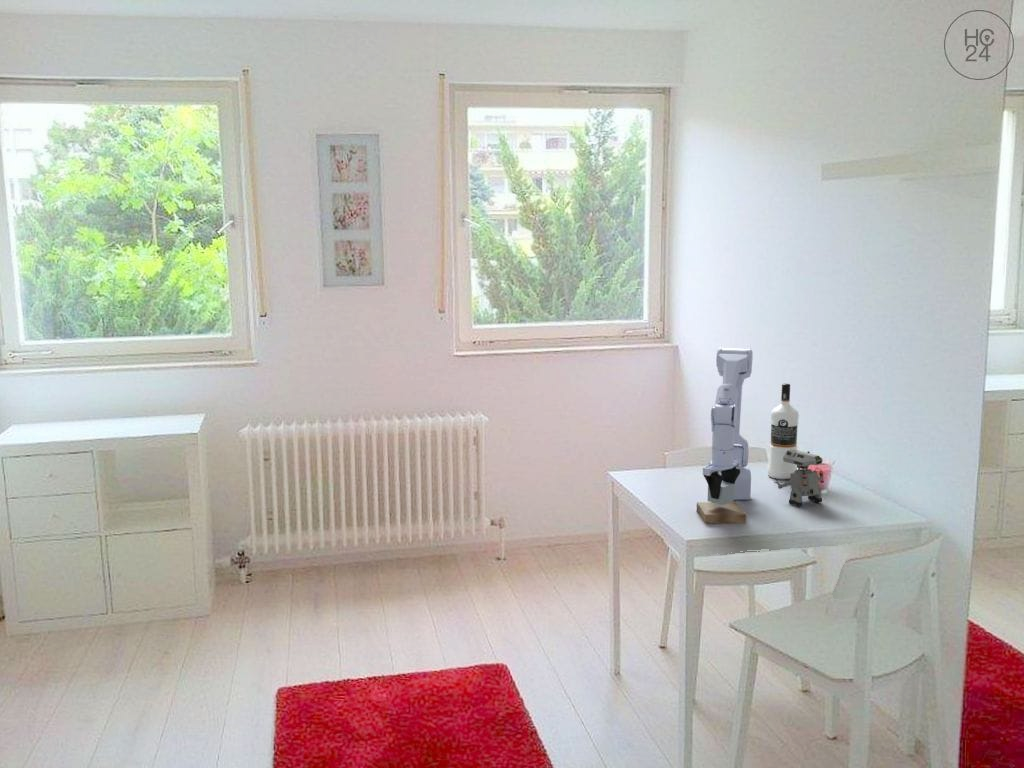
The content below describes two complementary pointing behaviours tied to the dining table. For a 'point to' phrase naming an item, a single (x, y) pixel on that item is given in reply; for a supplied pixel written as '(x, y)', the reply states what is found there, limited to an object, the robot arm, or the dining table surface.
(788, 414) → the vodka
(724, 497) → the block
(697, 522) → the dining table surface
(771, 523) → the dining table surface
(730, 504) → the plinth
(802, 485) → the figurine
